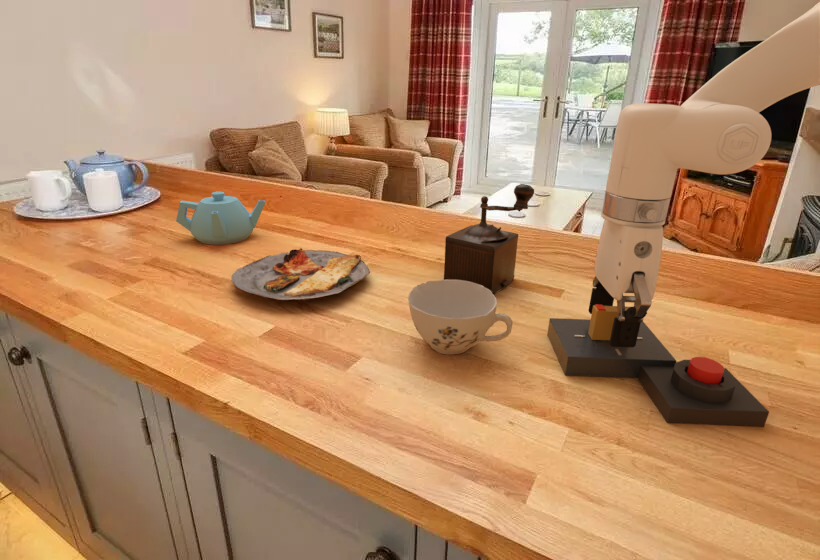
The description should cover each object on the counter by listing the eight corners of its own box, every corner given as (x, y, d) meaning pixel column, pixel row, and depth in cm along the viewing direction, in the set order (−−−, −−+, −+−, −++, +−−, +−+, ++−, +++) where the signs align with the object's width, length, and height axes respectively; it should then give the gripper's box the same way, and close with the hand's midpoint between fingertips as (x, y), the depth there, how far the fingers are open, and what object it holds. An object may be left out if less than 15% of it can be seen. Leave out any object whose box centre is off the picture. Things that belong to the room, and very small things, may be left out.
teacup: (392, 355, 69) (392, 304, 66) (426, 318, 80) (428, 273, 77) (495, 382, 64) (501, 328, 61) (518, 339, 74) (524, 291, 71)
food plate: (294, 252, 108) (293, 237, 106) (388, 270, 99) (388, 254, 97) (207, 294, 87) (204, 275, 86) (316, 322, 78) (315, 302, 77)
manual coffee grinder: (494, 298, 88) (503, 199, 81) (441, 283, 93) (446, 189, 86) (528, 272, 99) (539, 183, 92) (480, 260, 105) (486, 176, 98)
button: (710, 369, 61) (714, 357, 60) (726, 386, 58) (730, 373, 57) (681, 368, 61) (684, 356, 60) (695, 385, 58) (699, 372, 57)
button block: (721, 381, 65) (729, 355, 63) (764, 427, 56) (774, 398, 55) (637, 378, 65) (643, 352, 63) (667, 423, 57) (675, 394, 55)
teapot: (228, 224, 126) (223, 182, 122) (271, 233, 119) (266, 190, 115) (175, 239, 114) (167, 194, 110) (219, 251, 107) (212, 203, 103)
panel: (639, 338, 75) (643, 320, 74) (671, 380, 65) (677, 359, 64) (547, 335, 75) (549, 317, 74) (564, 376, 65) (568, 355, 64)
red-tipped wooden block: (624, 334, 70) (631, 304, 68) (629, 341, 68) (636, 310, 66) (587, 333, 70) (593, 303, 68) (591, 339, 68) (597, 309, 66)
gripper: (699, 229, 54) (664, 363, 60) (638, 193, 70) (615, 302, 76) (629, 226, 54) (602, 361, 61) (584, 191, 70) (567, 301, 77)
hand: (610, 328), depth 68 cm, fingers open, 8 cm apart
